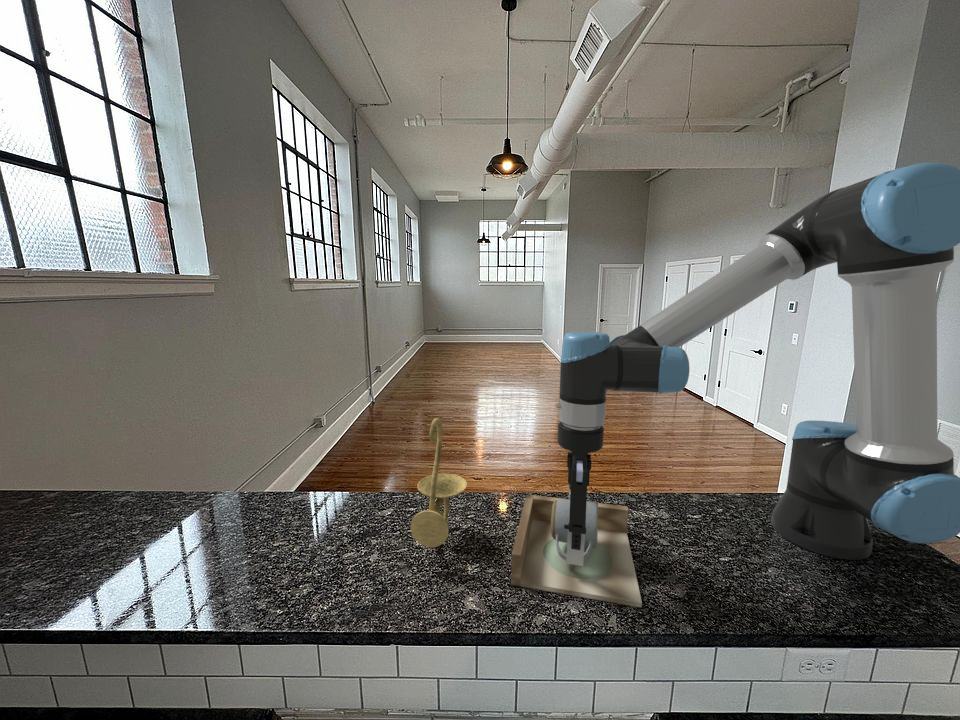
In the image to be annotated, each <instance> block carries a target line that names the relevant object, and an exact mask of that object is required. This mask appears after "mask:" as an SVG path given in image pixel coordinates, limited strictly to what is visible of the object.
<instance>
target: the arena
mask: <svg viewBox="0 0 960 720" xmlns="http://www.w3.org/2000/svg"><path fill="white" fill-rule="evenodd" d="M561 499H562V498H561V497H551V496H544V495H536V494H534V495H533V494H528V493H527V494H526V496H525V499H524V503H523V507H522V511H521V515H520V519H519V524H518V527H517V531H516V536H515V540H514V543H513V547H512V552H511V567H510V568H511V570H510V573H511V574H510V585H511V586H517V587H521V588H526V589H527V588H529V589H534V590H538V591H546V592H550V593H556V594H562V595H567V596H573V597H579V598H585V599H591V600H594V601H595V600H596V601H602V602H607V603H613V604H620V605H624V606H630V607H637V608H642V606H643V602H642V596H641V592H640V588H639V582H638V578H637V573H636V569H635V564H634V560H633V555H632V554H633V553H632V551H631V546H630V542H629V537H628V520H629V508H628V506H626V505H619V504H617V505H616V504H610V503H602V502H601V503H599V502H598V535H597V539H598V540H597V549H594V548H592V549H591V552H590V554H589V556H588V558H587V559H586V560H585V561H583V566H579V565H573V564H566V561H565V560H564V559H562V558H561V557H560V556H559V554H558V552H557V548H556V540H555V539H553V537H552V535H551V515H552V506H553V503H554V501H555V500H561ZM566 499H567V500H569V498H566ZM558 545H559V547H560V550H561V551H563V553H565V554H567V543H564V542H560V541H559V543H558ZM587 548H588V547H584V553H585V552H586V550H587Z"/></svg>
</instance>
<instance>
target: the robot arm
mask: <svg viewBox="0 0 960 720" xmlns="http://www.w3.org/2000/svg"><path fill="white" fill-rule="evenodd" d="M959 244H960V169H959V168H958V167H957V166H955V165H952V164H949V163H944V162H935V161H933V162H930V161H929V162H928V161H927V162H922V163H915V164H911V165H908V166H904V167H897V168H895V169H892V170H889V171H884V172H882V173H880V174H878V175H874V176H872V177H870V178H867V179H864V180H861V181H859V182H855V183H853V184H850V185H847V186H845V187H840V188H837V189H835V190H832V191H830V192H828V193H826V194H824V195H822V196H820V197H818V198H816V199H815V200H814V201H811V202H810V203H809V204H807V205H806V206H805V207H803V208H802V209H800V210H799V211H797V212H796V213H795V214H793V215H791V216H790V217H789V218H787V219H786V220H784V221H783V222H782V223H780V224H779V225H777V226H776V227H775V228H774V229H771V230H770V231H769V232H767V233H766V234H765V235H763V236H762V237H761V238H760V239H759V241H758V246H757V247H755V248H753V249H752V250H750V251H749V252H747V253H746V254H745V255H743V256H742V257H740V258H739V259H737V260H735V261H734V262H732V263H731V264H730V265H728V266H726V268H725V267H724V269H722V270H721V271H719V272H718V273H716V274H715V275H713V276H712V277H710V278H709V279H707V280H705V281H704V282H703V283H701V284H699V286H696V287H695V288H694V289H692V290H691V291H689V292H688V293H686V294H684V295H683V296H681V297H680V298H679V299H677V300H675V301H674V302H673V303H671V304H670V305H668V306H667V307H665V308H663V310H661V311H659V312H658V313H656V314H655V315H653V316H652V317H650V318H649V319H647V320H645V321H644V322H643V323H641V324H640V325H639V326H637V327H635V328H634V329H632V330H631V331H629V332H628V333H626V334H623V335H618V336H614V337H613V338H612V339H610V336H609V335H608V334H607V333H605V332H599V331H570V332H568V333H566V334H565V335H564V336H563V338H562V344H561V345H562V346H561V356H560V359H559V360H560V367H559V368H560V370H559V371H560V372H559V376H560V377H559V402H555V408H557V409H559V411H558V420H559V421H560V422H558V425H557V444H558V446H559V447H561V448H562V449H565V450H566V451H568V452H567V459H566V460H567V462H566V464H567V465H566V467H567V469H568V471H567V484H568V485H569V486H568V487H569V491H570V492H569V491H568V499H569V500H570V515H569V524H568V525H564V529H568V536H567V557H566V564H573V565H579V566H583V561H584V543H585V534H586V502H587V501H588V500H587V497H588V495H587V494H588V487H589V485H590V475H591V474H590V471H591V470H592V459H591V457H592V454H590V453H596V452H599V451H600V450H601V449H603V446H604V435H605V428H604V425H605V421H606V410H607V409H606V408H607V397H606V396H607V391H612V392H617V391H618V392H634V393H654V394H655V393H656V394H657V393H658V394H660V395H661V394H668V393H671V394H672V393H673V394H674V393H675V394H676V393H680V392H682V391H683V390H684V389H685V387H686V386H687V385H688V380H689V377H690V361H689V360H690V359H689V357H688V354H687V352H686V350H684V349H683V348H682V347H683V346H684V345H685V344H687V343H688V342H691V341H692V340H694V339H695V338H696V337H698V336H699V335H701V334H703V333H704V332H706V331H707V330H709V329H710V328H712V327H714V326H715V325H717V324H718V323H720V322H722V321H723V320H724V319H726V318H728V317H729V316H731V315H733V314H734V313H735V312H737V311H739V310H740V309H742V308H743V307H745V306H746V305H748V304H749V303H751V302H753V301H754V300H756V299H757V298H759V297H761V296H763V295H764V294H766V293H767V292H769V291H770V290H771V289H773V288H775V287H777V286H778V285H780V284H781V283H783V282H784V281H786V280H791V281H792V280H793V281H794V280H798V279H800V278H802V277H803V276H805V275H807V274H809V273H810V272H812V271H814V270H817V269H819V268H821V267H825V266H827V265H831V264H836V267H837V268H836V269H837V277H839V278H840V279H842V280H843V281H845V282H847V283H848V284H849V285H850V287H851V305H852V306H851V307H852V333H853V334H852V335H853V336H852V337H853V338H852V339H853V364H854V368H853V369H854V391H855V392H854V393H855V394H854V395H855V413H856V414H855V418H856V419H855V420H856V421H855V422H856V424H855V423H847V422H842V421H841V422H839V421H831V420H804V421H800V422H799V423H797V424H796V426H795V428H794V432H793V435H792V439H791V441H792V444H791V453H790V460H789V461H790V462H789V467H788V476H787V482H786V483H787V484H786V488H785V491H784V493H783V494H782V495H781V497H780V498H779V500H778V501H777V503H776V505H775V506H774V508H773V510H772V513H771V518H770V519H771V520H770V524H771V527H772V526H773V527H772V528H773V530H774V531H776V533H778V535H780V536H781V537H783V538H784V539H786V540H787V541H789V542H790V543H792V544H794V545H796V546H798V547H801V548H804V549H805V550H808V551H810V552H813V553H817V554H819V555H823V556H826V557H830V558H835V559H841V560H846V561H847V560H850V561H857V560H858V561H861V560H864V559H867V558H869V557H870V556H871V554H872V551H873V546H874V545H873V544H874V541H873V540H874V539H873V536H872V533H871V532H872V531H871V527H870V525H869V521H870V522H871V523H873V524H874V525H875V526H876V527H877V528H879V529H881V530H884V531H886V532H888V533H890V534H892V535H893V536H895V537H897V538H899V539H901V540H904V541H906V542H909V543H914V544H934V543H935V544H936V543H941V542H944V541H947V540H950V539H953V538H954V537H955V538H956V537H957V536H958V535H959V534H960V477H959V476H958V475H955V471H954V470H955V469H954V467H955V463H954V460H955V459H954V451H953V450H952V448H951V447H950V446H948V445H947V444H945V443H944V442H942V441H941V440H939V438H938V329H937V328H938V318H937V317H938V316H937V315H938V314H937V313H938V311H937V310H938V308H937V307H938V306H937V305H938V303H937V302H938V299H937V298H938V296H937V295H938V294H937V292H938V291H937V289H938V288H937V282H938V281H937V277H938V276H939V274H940V273H941V272H943V270H945V269H946V268H948V267H949V266H950V265H951V264H952V263H954V260H955V259H954V258H955V257H954V253H955V252H954V251H955V247H956V246H957V245H959Z"/></svg>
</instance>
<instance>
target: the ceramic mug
mask: <svg viewBox="0 0 960 720" xmlns="http://www.w3.org/2000/svg"><path fill="white" fill-rule="evenodd" d="M567 499H568V498H561V500H555V501H554V503H553V506H552V515H551V535H552V537H553V539H555V540H556V548H557V552H558V554H559V556H560V557H561V558H562V559H564V560H565V561H566V557H567V554H565V553H563V551H561V550H560V547H559V545H558V543H559V541H560V542H564V543H567V536H568V529H564V525H568V524H569V515H570V500H567ZM598 503H599V502H598V501H593V500H592V501H591V500H587V502H586V534H585V543H584V547H588V548H587V550H586V552H585V553H584V561H585V560H586V559H587V558H588V556H589V554H590V552H591V549H592V548H594V549H597V540H598V539H597V535H598Z"/></svg>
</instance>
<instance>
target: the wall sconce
mask: <svg viewBox="0 0 960 720" xmlns="http://www.w3.org/2000/svg"><path fill="white" fill-rule="evenodd" d="M442 424H443V423H442V421H441V419H440V418H439V417H435V418H434V419H433V420H432V421H431V423H430V429H429V442H430V443H432V444H436V447H435V454H434V462H433V465H432V466H433V468H432V473H431V475H428V476H426V477H424V478H422V479H420V480H419V481H418V483H417V490H418V491H419V493H421V494H422V495H424V496H426V497H428V498H429V504H428V506H429V507H428V509H427V510H422V511H420V512H418V513H416V514H415V516H413V518H412V520H411V524H410V531H411V534H412V537H413V539H414V540H415V541H416V542H417V543H418V544H420V545H422V546H423V547H427V548H436V547H440V546H441V545H443V544H444V543H445V542H446V540H447V539H448V537H449V533H450V529H449V524H448V520H449V512H450V511H449V510H450V498H453V497H455V496H458V495H460V494H462V493H463V492H464V491H466V488H467V486H468V482H467V480H466V479H465V478H464V477H462V476H460V475H458V474H454V473H439V466H440V461H441V454H442V445H443V425H442ZM436 431H437V432H436ZM443 506H444V507H443ZM442 508H443V512H441V509H442Z"/></svg>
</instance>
